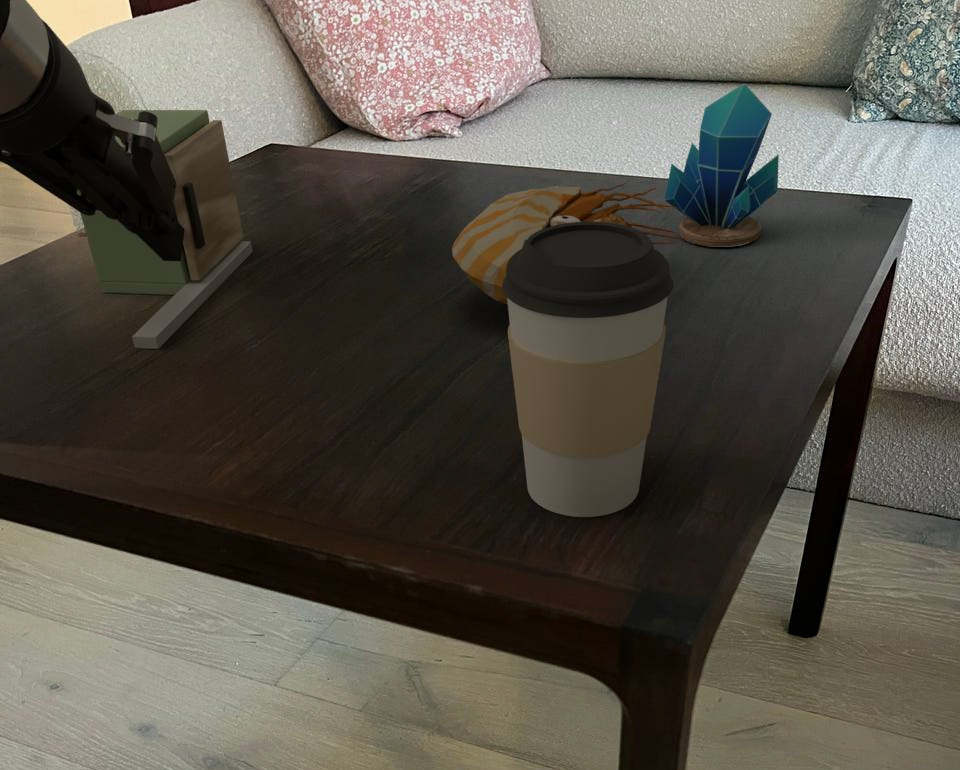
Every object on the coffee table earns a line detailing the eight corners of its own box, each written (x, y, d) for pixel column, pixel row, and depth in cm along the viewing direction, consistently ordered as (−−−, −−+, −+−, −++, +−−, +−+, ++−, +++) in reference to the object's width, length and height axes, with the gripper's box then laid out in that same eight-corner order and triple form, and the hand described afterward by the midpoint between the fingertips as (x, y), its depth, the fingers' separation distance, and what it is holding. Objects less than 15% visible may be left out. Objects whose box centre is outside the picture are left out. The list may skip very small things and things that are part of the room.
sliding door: (191, 280, 89) (162, 155, 83) (235, 237, 97) (212, 119, 90) (205, 280, 89) (178, 155, 82) (248, 237, 97) (227, 119, 90)
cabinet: (41, 344, 83) (-11, 187, 76) (155, 247, 99) (122, 109, 92) (158, 349, 82) (117, 188, 74) (255, 250, 98) (229, 109, 90)
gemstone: (691, 215, 100) (702, 75, 92) (777, 230, 95) (797, 84, 88) (654, 240, 95) (663, 94, 87) (743, 256, 91) (761, 105, 83)
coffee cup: (620, 437, 68) (631, 197, 58) (684, 507, 61) (709, 250, 52) (488, 465, 66) (477, 221, 56) (539, 541, 59) (537, 279, 50)
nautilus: (638, 244, 96) (733, 310, 85) (419, 277, 88) (495, 352, 78) (650, 152, 90) (753, 210, 80) (418, 179, 83) (500, 246, 73)
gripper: (106, 0, 61) (255, 202, 85) (-93, 3, 63) (106, 199, 87) (89, 123, 61) (244, 292, 84) (-111, 122, 63) (94, 287, 86)
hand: (174, 244), depth 85 cm, fingers closed
